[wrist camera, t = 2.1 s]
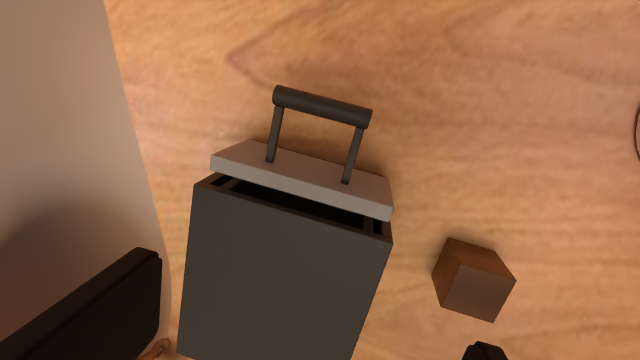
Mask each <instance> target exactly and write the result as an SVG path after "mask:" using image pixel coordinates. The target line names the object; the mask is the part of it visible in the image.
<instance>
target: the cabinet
mask: <svg viewBox="0 0 640 360" xmlns="http://www.w3.org/2000/svg"><path fill="white" fill-rule="evenodd" d="M233 178H234V177H232V176H229V175H226V174H222V173H219V172H215V173H214V174H212V175H210V176H208V177H206V178H204V179H203V180H201V181H199V182H197V183H195V184H194V187H193V197H192V206H191V215H190V225H189V234H188V244H187V253H186V263H185V272H184V282H183V291H182V301H181V310H180V320H179V329H178V338H177V348H176V353H178V354H181V355H184V356H186V357H189V358H192V359H195V360H350V359H351V357H352V354H353V351H354V349H355V346H356V343H357V341H358V338H359V335H360V332H361V330H362V327H363V324H364V322H365V319H366V316H367V314H368V311H369V308H370V306H371V303H372V300H373V298H374V295H375V292H376V289H377V287H378V284H379V281H380V279H381V276H382V273H383V271H384V268H385V265H386V263H387V260H388V257H389V254H390V252H391V249H392V246H393V239H392V232H391V223H390V221H389V222H386V221H382V220H379V219H375V218H373V233H372V232H368V231H365V230H361V229H358V228H355V227H351V226H348V225H345V224H341V223H338V222H335V221H331V220H328V219H325V218H321V217H318V216H314V215H311V214H308V213H304V212H301V211H298V210H294V209H291V208H288V207H284V206H281V205H278V204H274V203H271V202H268V201H264V200H261V199H257V198H254V197H251V196H247V195H244V194H241V193H237V192H234V191H231V190H227V189H224V188H221V187H220V186H222V185H223V184H225V183H226V182H228V181H229V180H231V179H233Z"/></svg>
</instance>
